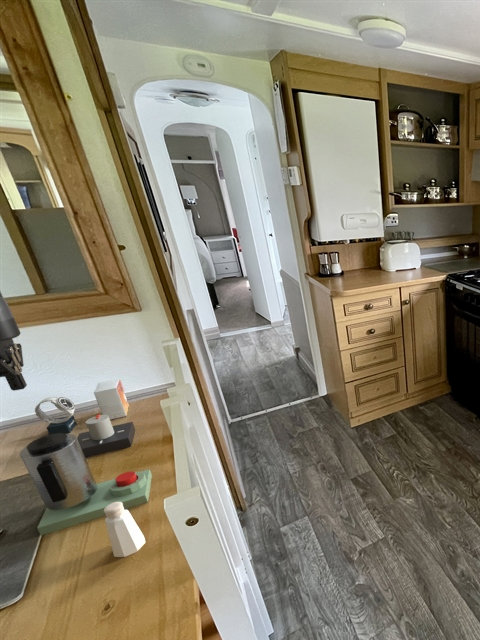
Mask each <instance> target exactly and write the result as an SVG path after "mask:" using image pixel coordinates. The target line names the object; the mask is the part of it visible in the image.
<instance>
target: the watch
mask: <svg viewBox="0 0 480 640" xmlns="http://www.w3.org/2000/svg"><path fill="white" fill-rule="evenodd" d="M48 402H50V403H51V404H53V405H54V406H55V407H56V409H57V410H59V411H60V412H61V411H62V412H64V413H67V414H68V416H61V417H56V418H53V417H52V416H50V415H48V414H47V413H45V412H44V410H42V409H41V408H40V407H41V404H44V403H48ZM75 408H76V407H75V404H74V402H73V401H72V400H71V399H69V398H68V397H64V396H52V397H51V396H50V397H46V398H44V399H42V400H41V401H39V402H38V404H37V405H36V406H35V408H34V413H35V416H36V417H38V418H39V419H40V420H41V421H43V422H45V423H46V424H47V423H48V425H47V426H46V430H47V433H48V435H51V434H57V433H64V434H71V433H72V431H73V430H74V428H75V427H76V426H77V423H78V422H77V421H76V419H75V417H74V414H75V410H76V409H75Z"/></svg>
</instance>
